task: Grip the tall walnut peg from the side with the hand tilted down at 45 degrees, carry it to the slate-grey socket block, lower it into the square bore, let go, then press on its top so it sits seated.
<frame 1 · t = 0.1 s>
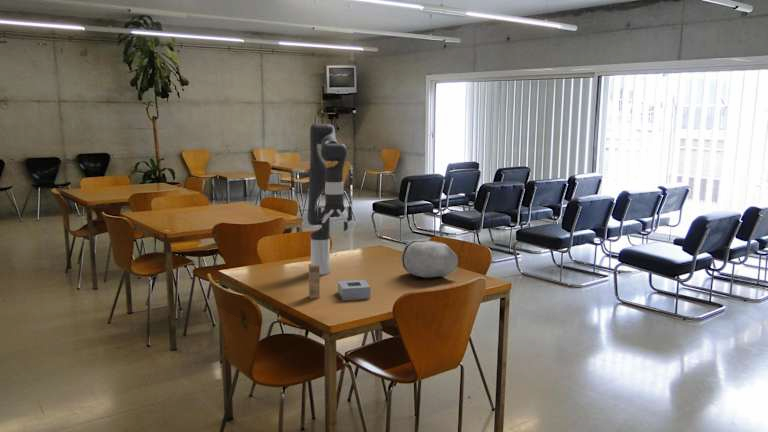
hand: (334, 231, 252), 29 cm above the table, fingers open, 8 cm apart
peg: (314, 297, 260), on the table
socket: (353, 295, 263), on the table
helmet: (430, 276, 297), on the table
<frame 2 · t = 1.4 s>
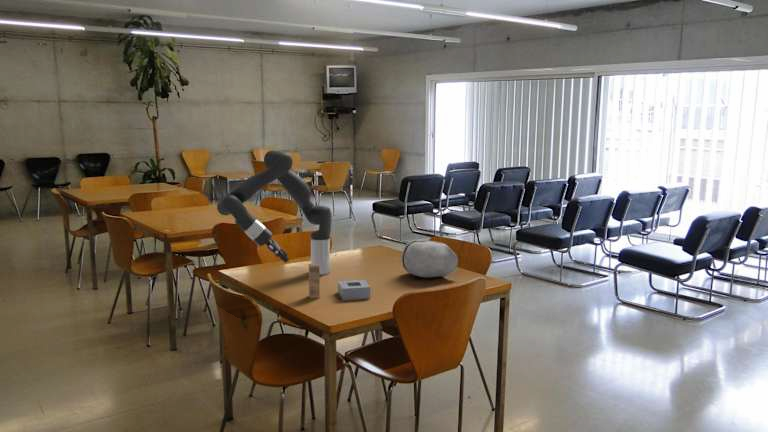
hand: (286, 258, 254), 17 cm above the table, fingers open, 8 cm apart
nothing on the table moved.
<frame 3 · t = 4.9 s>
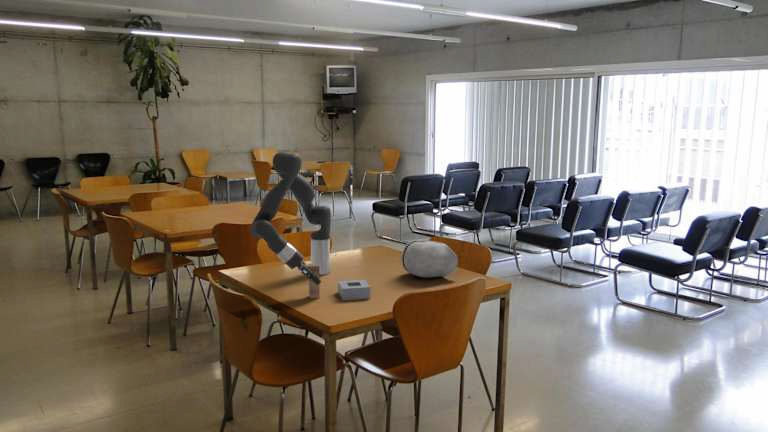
hand: (318, 281, 259), 7 cm above the table, fingers closed on peg, 4 cm apart
peg: (314, 296, 260), on the table, touching gripper
everything else where it was.
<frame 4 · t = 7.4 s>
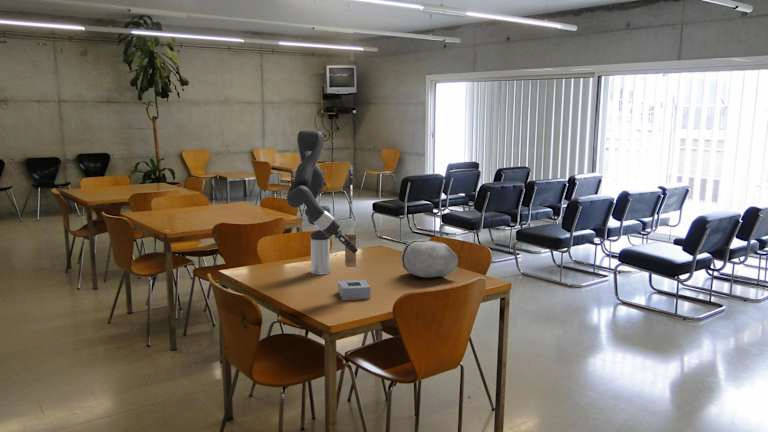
hand: (355, 250, 259), 20 cm above the table, fingers closed on peg, 4 cm apart
peg: (350, 265, 260), point 13 cm above the table, touching gripper
everything else where it was.
when the fingers open (9 cm above the table, at t = 10.0 s): peg drops 2 cm, resting in socket.
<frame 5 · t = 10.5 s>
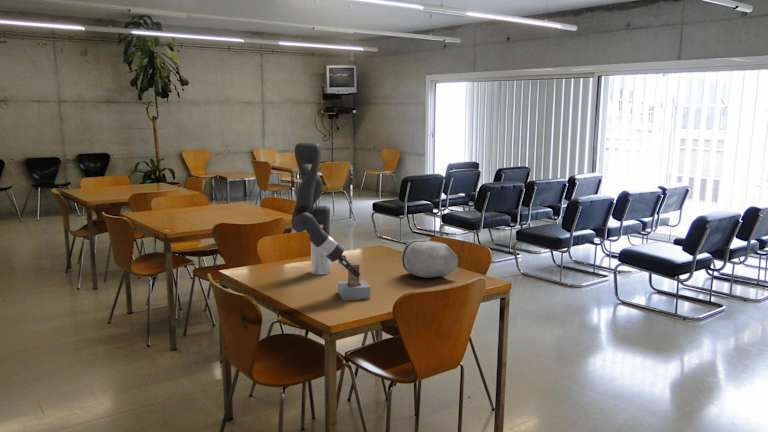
hand: (357, 273, 261), 10 cm above the table, fingers open, 8 cm apart
peg: (353, 295, 263), resting in socket
everything else where it was.
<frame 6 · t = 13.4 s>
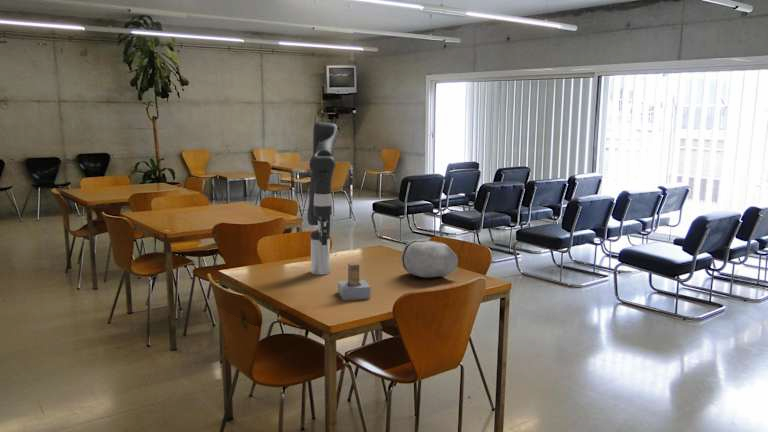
hand: (323, 243, 256), 24 cm above the table, fingers open, 6 cm apart
nothing on the table moved.
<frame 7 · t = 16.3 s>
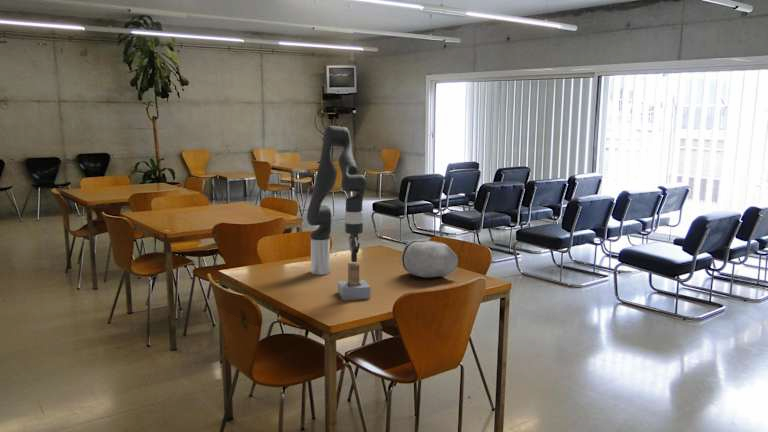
hand: (354, 261, 260), 15 cm above the table, fingers closed
nothing on the table moved.
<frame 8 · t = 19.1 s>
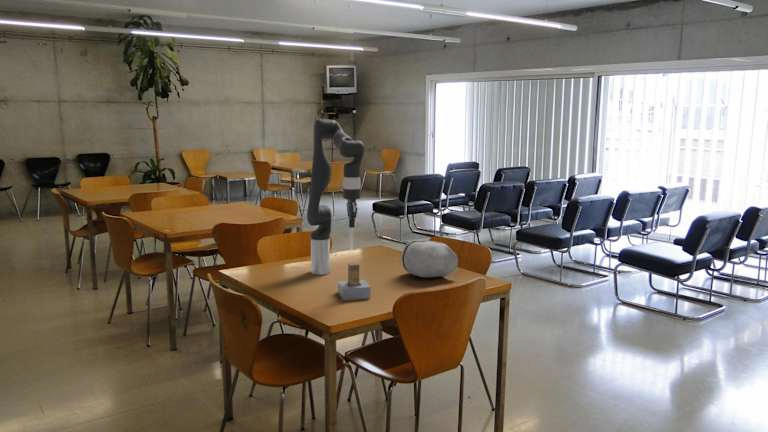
hand: (351, 227, 263), 29 cm above the table, fingers closed
nothing on the table moved.
at the end: peg 0.1 cm off-centre on the socket, point 0.0 cm above the socket's base; peg tilted 0°; the gripper is holding nothing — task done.
